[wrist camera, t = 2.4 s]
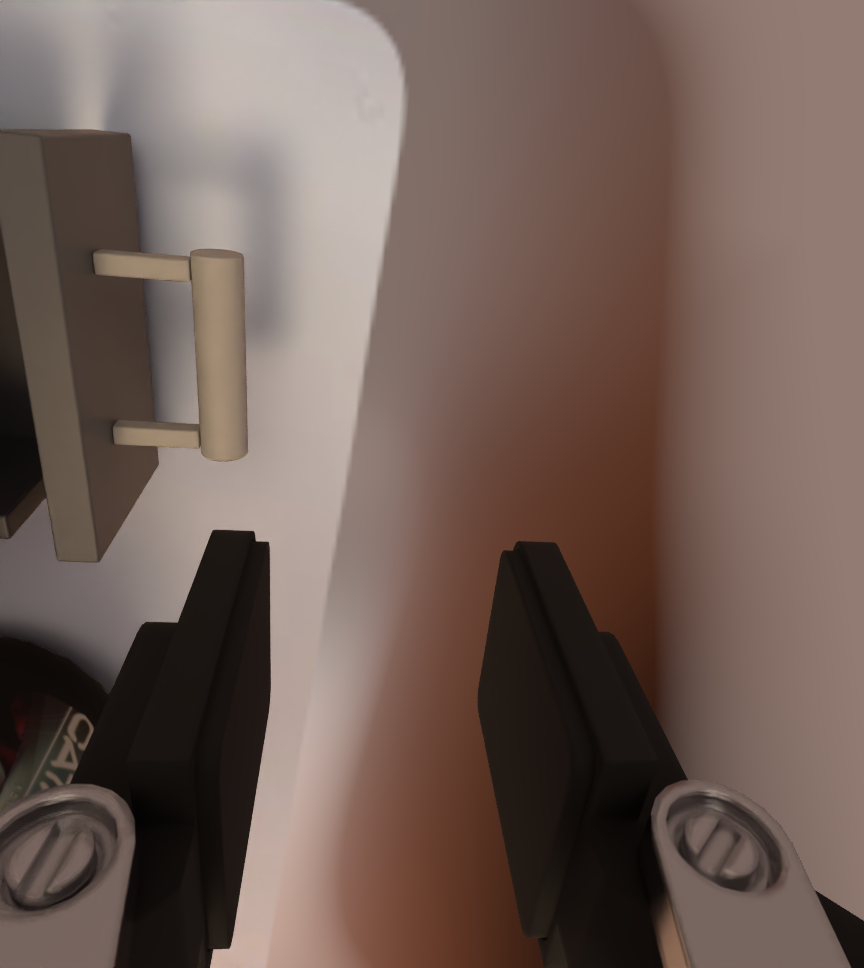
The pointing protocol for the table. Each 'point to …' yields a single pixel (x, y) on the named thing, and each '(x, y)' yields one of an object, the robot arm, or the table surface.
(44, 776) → the container
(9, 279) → the drawer
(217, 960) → the table surface
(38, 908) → the robot arm
